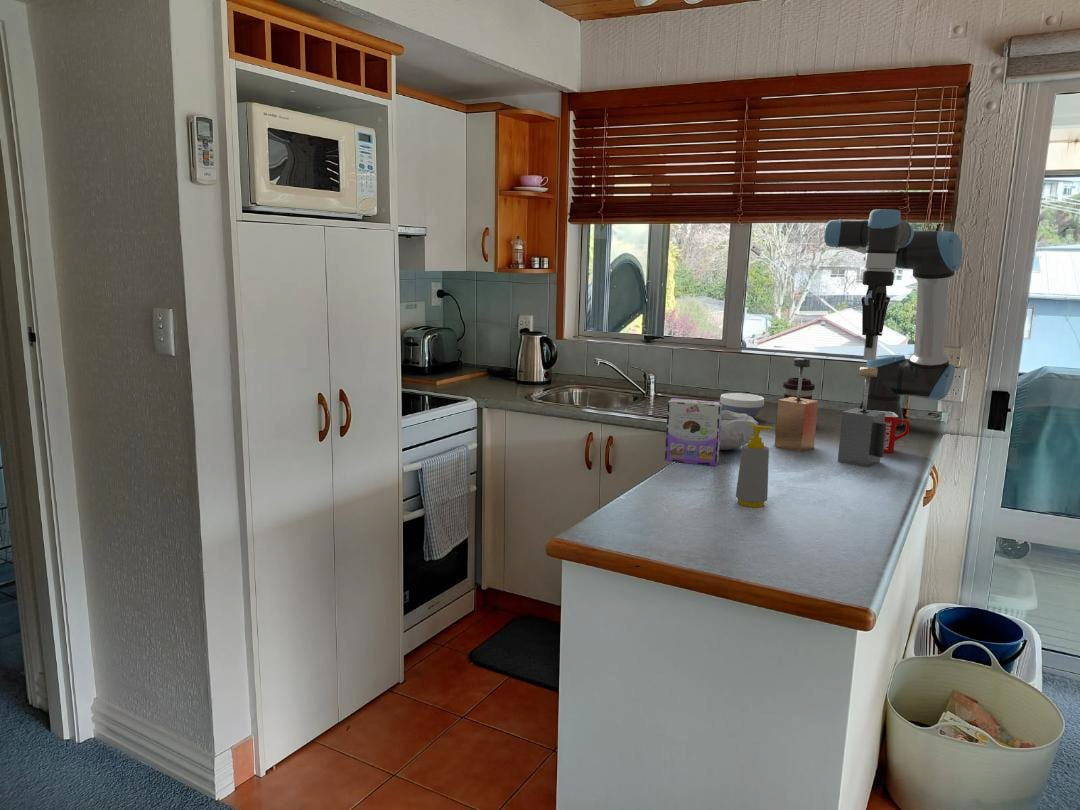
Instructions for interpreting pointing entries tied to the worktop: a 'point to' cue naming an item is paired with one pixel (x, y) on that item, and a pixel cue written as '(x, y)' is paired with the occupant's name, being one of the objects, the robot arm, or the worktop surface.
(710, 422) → the candy box
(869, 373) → the beige t-shaped piece
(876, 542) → the worktop surface
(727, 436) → the white crumpled bag
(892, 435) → the mug
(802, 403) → the tall wooden block
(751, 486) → the soap bottle
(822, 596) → the worktop surface
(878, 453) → the grey block
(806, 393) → the coffee cup
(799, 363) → the grey t-shaped piece
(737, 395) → the bowl
